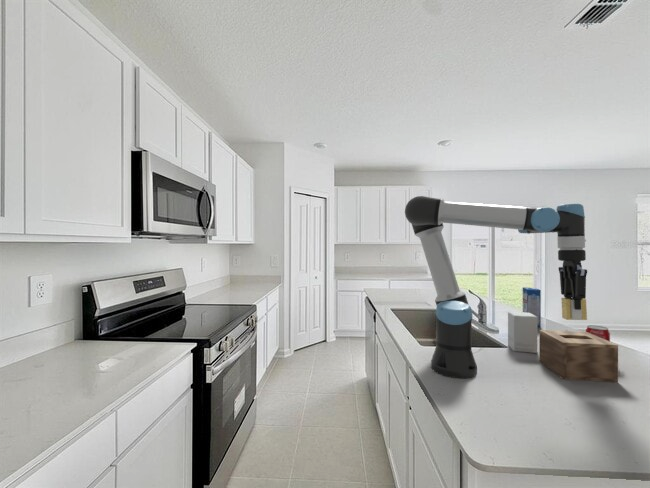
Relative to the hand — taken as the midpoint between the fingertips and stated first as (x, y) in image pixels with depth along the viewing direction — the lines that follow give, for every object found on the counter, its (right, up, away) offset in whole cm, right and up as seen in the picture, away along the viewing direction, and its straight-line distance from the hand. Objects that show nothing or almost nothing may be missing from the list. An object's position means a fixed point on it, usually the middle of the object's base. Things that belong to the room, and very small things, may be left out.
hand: (573, 317), depth 111 cm
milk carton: (+29, -20, +68) cm, 77 cm away
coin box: (+3, -19, +3) cm, 20 cm away
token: (0, 0, 0) cm, 1 cm away
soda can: (+18, -20, +12) cm, 30 cm away
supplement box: (-1, -20, +27) cm, 33 cm away
